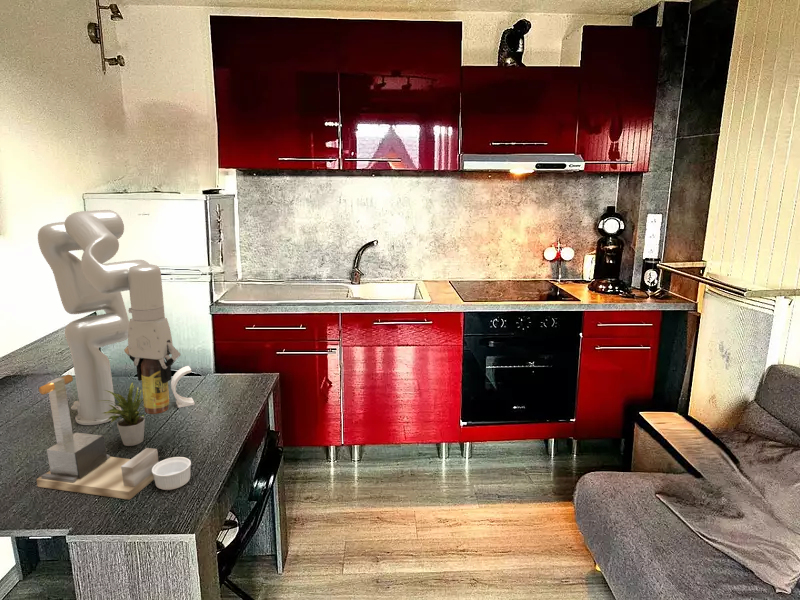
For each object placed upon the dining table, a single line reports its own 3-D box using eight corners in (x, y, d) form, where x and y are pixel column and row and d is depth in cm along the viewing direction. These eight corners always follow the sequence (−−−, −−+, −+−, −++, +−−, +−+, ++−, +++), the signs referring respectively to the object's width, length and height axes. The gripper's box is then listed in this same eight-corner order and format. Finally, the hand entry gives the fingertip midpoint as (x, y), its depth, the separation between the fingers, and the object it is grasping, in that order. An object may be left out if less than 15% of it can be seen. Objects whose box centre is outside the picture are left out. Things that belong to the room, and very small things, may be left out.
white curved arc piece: (194, 404, 178) (191, 369, 175) (174, 408, 175) (171, 373, 173) (192, 399, 182) (188, 365, 179) (172, 403, 179) (169, 368, 176)
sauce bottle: (160, 416, 141) (153, 343, 136) (139, 414, 142) (131, 341, 138) (175, 406, 147) (169, 335, 143) (154, 403, 149) (148, 333, 144)
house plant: (106, 433, 159) (99, 380, 155) (158, 425, 164) (152, 373, 160) (100, 456, 146) (92, 399, 142) (157, 446, 151) (151, 391, 147)
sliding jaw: (50, 474, 133) (36, 387, 128) (79, 456, 141) (66, 373, 136) (79, 478, 131) (66, 389, 126) (107, 459, 140) (95, 376, 134)
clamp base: (37, 486, 132) (33, 460, 130) (79, 459, 144) (75, 435, 143) (130, 499, 127) (126, 472, 125) (165, 470, 139) (162, 445, 137)
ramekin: (153, 495, 128) (151, 478, 128) (153, 476, 136) (151, 460, 135) (193, 486, 132) (191, 470, 131) (191, 469, 140) (189, 453, 139)
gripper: (108, 315, 137) (115, 382, 141) (169, 320, 133) (175, 389, 138) (128, 307, 144) (135, 371, 148) (187, 312, 140) (192, 378, 145)
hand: (154, 379), depth 143 cm, fingers closed on sauce bottle, 6 cm apart
